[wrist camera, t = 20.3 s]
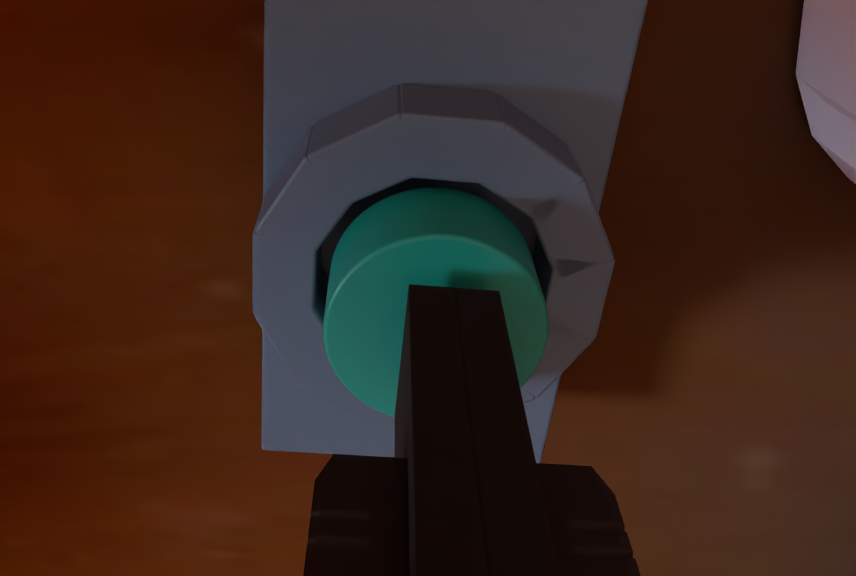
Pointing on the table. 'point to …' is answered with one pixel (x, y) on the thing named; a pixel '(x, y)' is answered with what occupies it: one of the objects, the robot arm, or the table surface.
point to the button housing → (430, 171)
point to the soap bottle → (830, 77)
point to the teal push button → (424, 283)
